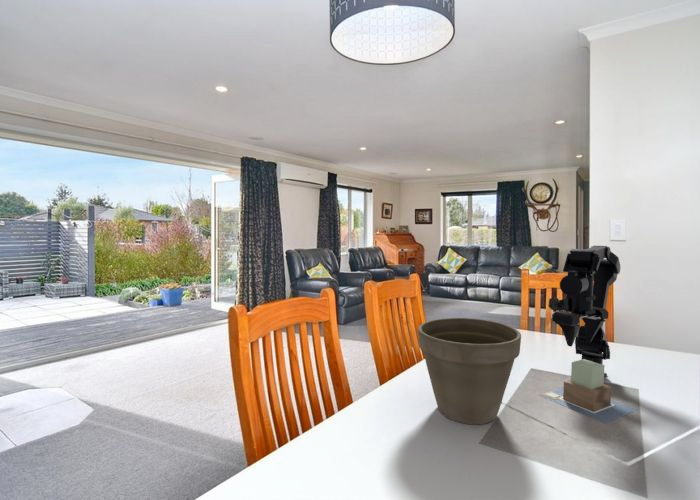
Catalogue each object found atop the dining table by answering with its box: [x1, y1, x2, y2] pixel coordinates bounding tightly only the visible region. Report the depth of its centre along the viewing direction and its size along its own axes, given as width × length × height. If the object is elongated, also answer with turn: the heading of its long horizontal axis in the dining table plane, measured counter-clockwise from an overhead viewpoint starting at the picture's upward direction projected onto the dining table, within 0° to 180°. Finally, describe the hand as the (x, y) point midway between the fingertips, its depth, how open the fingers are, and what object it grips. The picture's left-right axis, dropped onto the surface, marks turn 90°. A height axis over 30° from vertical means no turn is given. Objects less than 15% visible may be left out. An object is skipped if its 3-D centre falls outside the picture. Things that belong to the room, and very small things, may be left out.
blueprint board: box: [538, 386, 639, 424], centre depth 107 cm, size 15×18×1 cm
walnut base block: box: [563, 378, 612, 411], centre depth 106 cm, size 8×8×5 cm
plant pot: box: [417, 317, 522, 425], centre depth 101 cm, size 25×25×22 cm
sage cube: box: [570, 358, 605, 389], centre depth 106 cm, size 6×6×6 cm
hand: (579, 343), depth 117 cm, fingers open, 9 cm apart
